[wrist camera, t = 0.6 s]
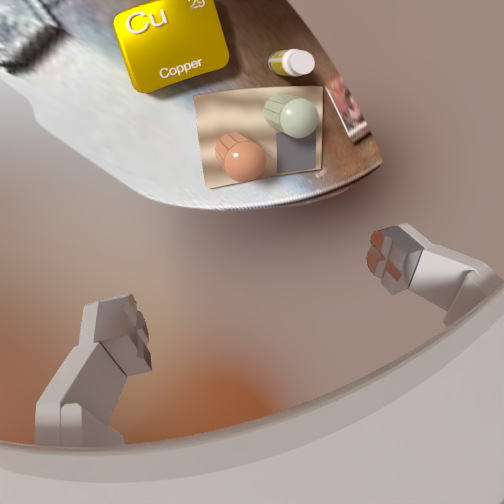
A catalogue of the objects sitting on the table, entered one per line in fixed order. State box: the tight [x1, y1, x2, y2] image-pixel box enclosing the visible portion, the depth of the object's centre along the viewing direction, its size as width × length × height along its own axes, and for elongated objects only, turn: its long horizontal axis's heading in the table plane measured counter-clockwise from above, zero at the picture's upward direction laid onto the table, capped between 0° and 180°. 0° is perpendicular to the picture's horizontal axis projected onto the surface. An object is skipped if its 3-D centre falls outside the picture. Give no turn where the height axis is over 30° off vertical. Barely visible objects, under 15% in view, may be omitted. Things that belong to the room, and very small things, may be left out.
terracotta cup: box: [215, 132, 266, 182], centre depth 43 cm, size 6×6×8 cm
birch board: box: [193, 86, 323, 189], centre depth 46 cm, size 17×23×2 cm
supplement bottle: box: [268, 49, 315, 76], centre depth 36 cm, size 5×5×8 cm
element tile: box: [113, 0, 229, 93], centre depth 31 cm, size 15×15×5 cm
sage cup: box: [263, 94, 319, 138], centre depth 41 cm, size 6×6×8 cm
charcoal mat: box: [276, 129, 316, 174], centre depth 49 cm, size 8×8×1 cm
